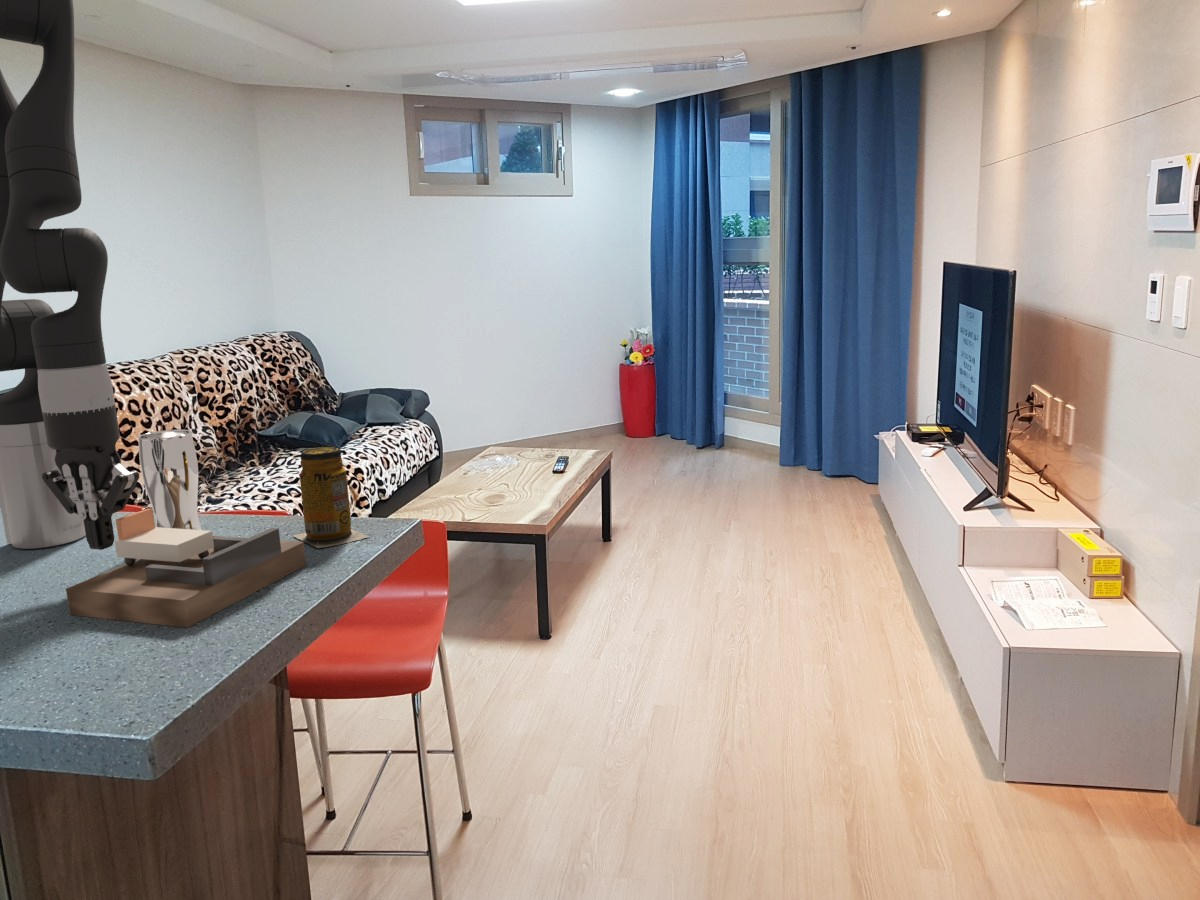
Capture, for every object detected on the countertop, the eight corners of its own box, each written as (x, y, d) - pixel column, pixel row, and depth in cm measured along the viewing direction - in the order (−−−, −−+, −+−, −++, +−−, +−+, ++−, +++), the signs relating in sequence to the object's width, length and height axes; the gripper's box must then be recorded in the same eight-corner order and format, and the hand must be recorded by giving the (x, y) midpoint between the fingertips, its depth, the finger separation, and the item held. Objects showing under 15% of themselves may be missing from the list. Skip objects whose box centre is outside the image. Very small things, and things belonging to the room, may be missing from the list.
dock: (70, 614, 102) (61, 562, 101) (201, 557, 121) (195, 512, 119) (188, 627, 97) (180, 572, 96) (306, 565, 116) (300, 518, 114)
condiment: (343, 525, 132) (334, 442, 130) (369, 538, 126) (361, 450, 123) (292, 537, 128) (282, 451, 125) (317, 550, 122) (307, 460, 119)
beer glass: (218, 538, 129) (204, 431, 126) (172, 552, 123) (156, 440, 120) (187, 531, 133) (173, 427, 130) (141, 545, 127) (125, 437, 124)
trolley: (118, 566, 108) (111, 520, 107) (155, 552, 113) (148, 507, 112) (181, 572, 105) (174, 524, 104) (215, 556, 110) (209, 511, 109)
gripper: (148, 400, 110) (169, 541, 114) (62, 399, 114) (85, 535, 118) (96, 410, 103) (120, 560, 107) (7, 409, 107) (32, 554, 111)
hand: (101, 547), depth 112 cm, fingers closed
